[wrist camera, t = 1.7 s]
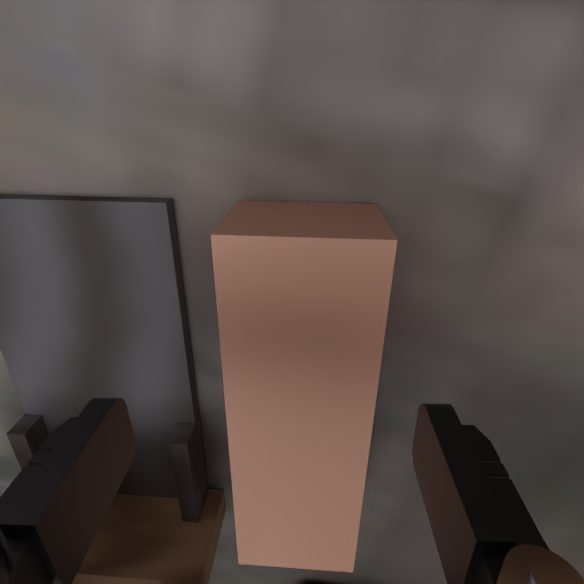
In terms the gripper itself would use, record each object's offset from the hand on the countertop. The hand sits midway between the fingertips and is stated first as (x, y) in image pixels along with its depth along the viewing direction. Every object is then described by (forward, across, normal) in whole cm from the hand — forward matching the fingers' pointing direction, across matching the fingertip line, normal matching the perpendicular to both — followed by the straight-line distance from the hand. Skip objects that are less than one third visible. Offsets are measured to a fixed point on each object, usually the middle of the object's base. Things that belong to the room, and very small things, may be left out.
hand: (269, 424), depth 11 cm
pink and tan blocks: (+9, +10, +6) cm, 15 cm away
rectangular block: (+9, -1, +5) cm, 10 cm away
